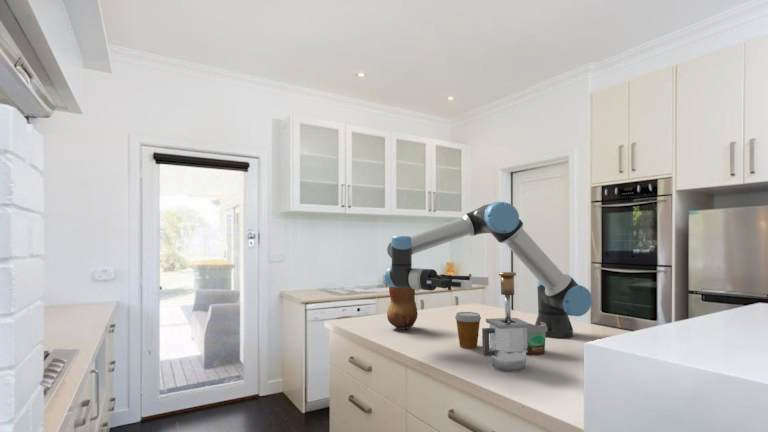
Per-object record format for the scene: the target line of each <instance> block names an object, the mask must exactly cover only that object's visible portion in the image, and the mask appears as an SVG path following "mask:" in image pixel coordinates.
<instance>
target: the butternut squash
mask: <svg viewBox="0 0 768 432" xmlns="http://www.w3.org/2000/svg"><path fill="white" fill-rule="evenodd" d="M388 293H389V296H390V303H389V305H388V308H387V311H386V313H387V314H386V316H387V318H386V319H387V320H388V323H389V324H391V325H392V326H393V327H395V329H399V330H408V329H410V328H412V327H413V326H414V324H415V323H416V321H417V320H418V309H417V303H416V298H415V296H416V289H406V288H396V287H390V286H388Z"/></svg>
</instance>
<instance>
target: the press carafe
mask: <svg viewBox="0 0 768 432" xmlns="http://www.w3.org/2000/svg"><path fill="white" fill-rule="evenodd" d="M485 323H487V324H489V327H482V328H481V332H482V335H481V337H482V338H481V339H482V343H481V345H482V349H481V350H482V355H483V356H484V357H488V356H489V357H490V356H491V367H492V368H493V369H495V370H498V371H500V372H501V371H502V372H506V373H507V372H508V373H520V372H525V371H526V370H527V355H526V349H527V328H532V325H533V324H532V323H529V322H527V321H525V320H522V319H520V318H517V317H511V323H505V317H502V318H501V317H500V318H486V319H485ZM490 348H491V349H490Z"/></svg>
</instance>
